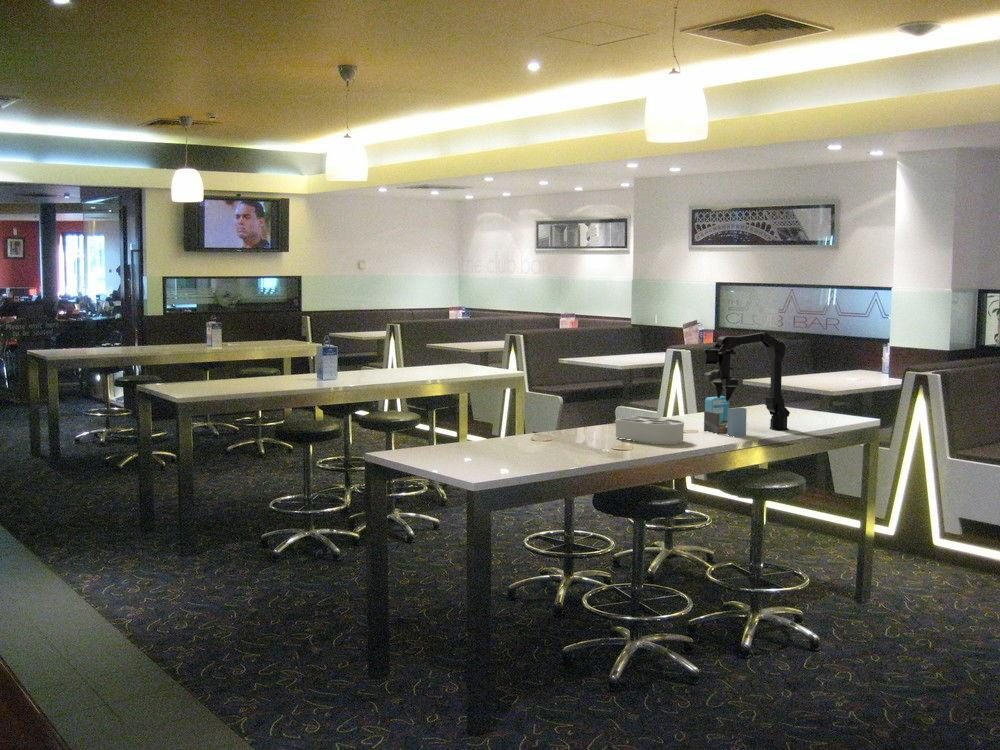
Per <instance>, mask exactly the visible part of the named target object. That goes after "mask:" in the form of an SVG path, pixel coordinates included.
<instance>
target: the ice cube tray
mask: <svg viewBox="0 0 1000 750" xmlns="http://www.w3.org/2000/svg"><path fill="white" fill-rule="evenodd" d="M614 424H615V438H616V437H618V438H625V439H631V440H634V441H633V442H635V441H639V442H638V443H642V442H647V443H646V444H649V443H654V444H653V445H657V444H674V445H678V444H677V443H680V444H682V443H683V442H684V427H685V421H683V420H679V419H671V418H662V417H653V416H647V415H646V416H645V415H635V416H630V418H626V417H622V418H617V419H616V418H615V421H614ZM681 442H682V443H681Z"/></svg>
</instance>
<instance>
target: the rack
mask: <svg viewBox="0 0 1000 750" xmlns="http://www.w3.org/2000/svg"><path fill="white" fill-rule="evenodd" d="M703 413H704V414H703V432H706V431H708V432H707V433H711V432H713V433H712V434H715V433H717V434H716V435H719V434H718V433H724V434H727V426H726V425H727V424H725V423H724V424H723V423H722V424H720V423H719V413H714V412H709V411H705V410H704V411H703Z"/></svg>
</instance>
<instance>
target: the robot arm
mask: <svg viewBox="0 0 1000 750" xmlns="http://www.w3.org/2000/svg"><path fill="white" fill-rule="evenodd" d="M760 342H761V344H762V345H763V346H764V347H765V348H766V349H767V355H768V357H769V361H770V385H769V387H770V390H769V394H768V396H765V404H764V405H765V406H766V410H768V412H769V415H771V417H770V419H769V420H770V421H769V422H770V423H769V424H770V425H769V429H771V430H774V431H789V430H790V428H788V418H789V416H790V414H791V412H790V411H789V410H788V409H787V408H786V403H785V399H784V396H783V394H782V377H783V375H782V374H783V373H782V372H783V371H782V370H783V368H782V367H783V364H782V363H783V360H784V358H785V357H786V350H787V346H786V344H785V343H784V342H782V341H779V339H778V340H777V339H776V338H774V337H773V336H772V335H770V334H769V332H766V331H760V332H755V333H750V334H743V335H737V336H735V335H734V336H731V335H721V336H718V338H717V340H716V342H715V344H714V346H713V347H712V348H711V349H708V348H704V349H702V353H701V356H700V362H701V364H702V365H704V366H705V365H707V366H708V365H709V366H711V365H717V366H715V368H714V369H713V370H711V371H708V372H705V373H704V377H705V380H706V381H707V382H710V384H712V385H713V386H714V390H715V393H716V396H717V398H720V396H722V394H723V390H724V395H725V398H726V401H729V402H730V399H731V397H732V395H733V393H734V392H735V389H736V388H738V386H739V383H740V382H739V380H738V379H736V378H734V377H733V376H732V375H731V374H732V373H731V371H732V370H734V369H733V367H732V356H733V355H737V352H736V351H735V350H734V349H735V348H737V347H739V346H741V345H747V344H753V343H760Z"/></svg>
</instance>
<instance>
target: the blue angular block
mask: <svg viewBox="0 0 1000 750" xmlns="http://www.w3.org/2000/svg"><path fill="white" fill-rule="evenodd" d="M726 425H727V426H726V427H727V433H726V435H729V436H728V437H730V436H732V437H731V438H734V437H733V436H739V437H746V436H747V408H746V407H729V408H728V413H727V424H726Z"/></svg>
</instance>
